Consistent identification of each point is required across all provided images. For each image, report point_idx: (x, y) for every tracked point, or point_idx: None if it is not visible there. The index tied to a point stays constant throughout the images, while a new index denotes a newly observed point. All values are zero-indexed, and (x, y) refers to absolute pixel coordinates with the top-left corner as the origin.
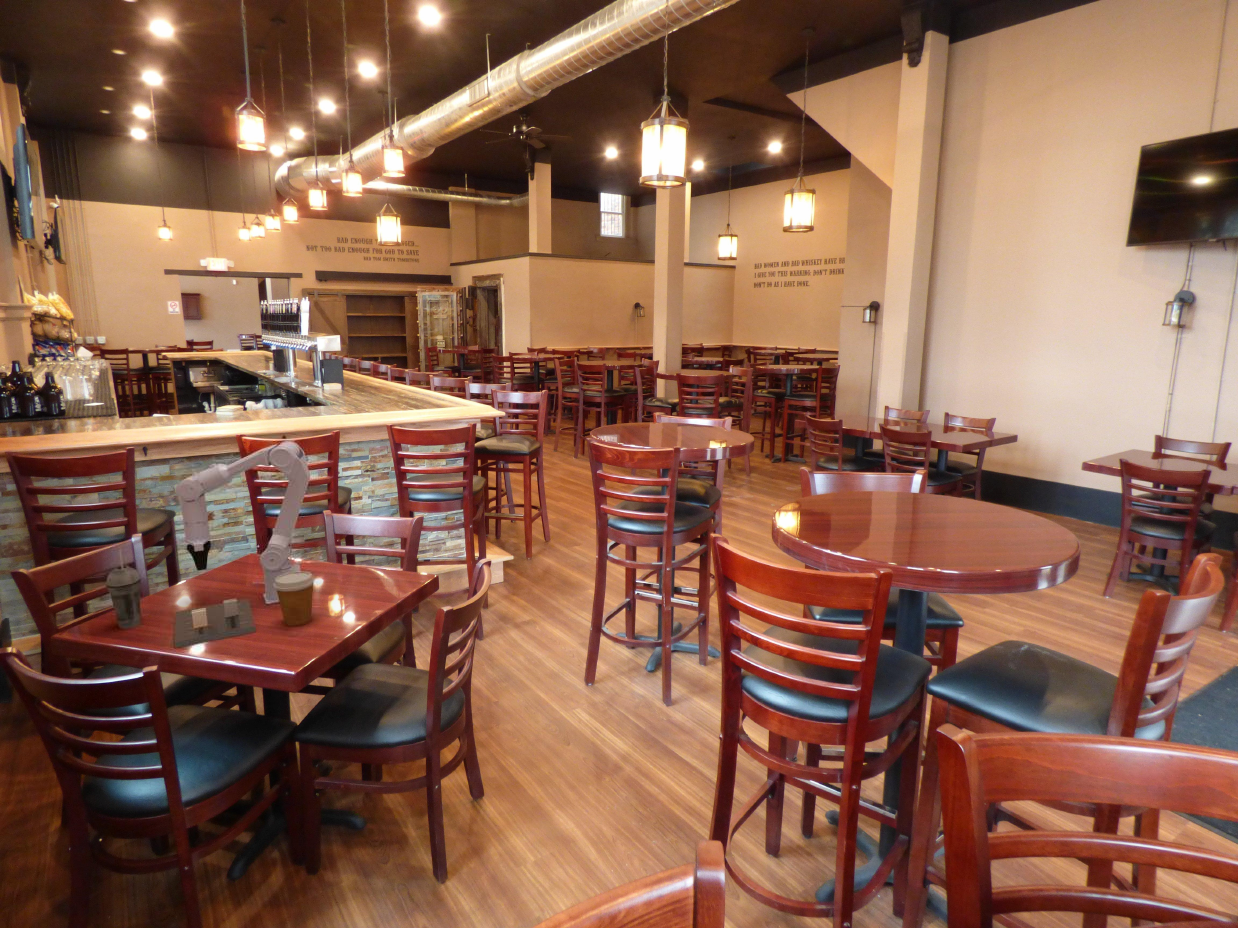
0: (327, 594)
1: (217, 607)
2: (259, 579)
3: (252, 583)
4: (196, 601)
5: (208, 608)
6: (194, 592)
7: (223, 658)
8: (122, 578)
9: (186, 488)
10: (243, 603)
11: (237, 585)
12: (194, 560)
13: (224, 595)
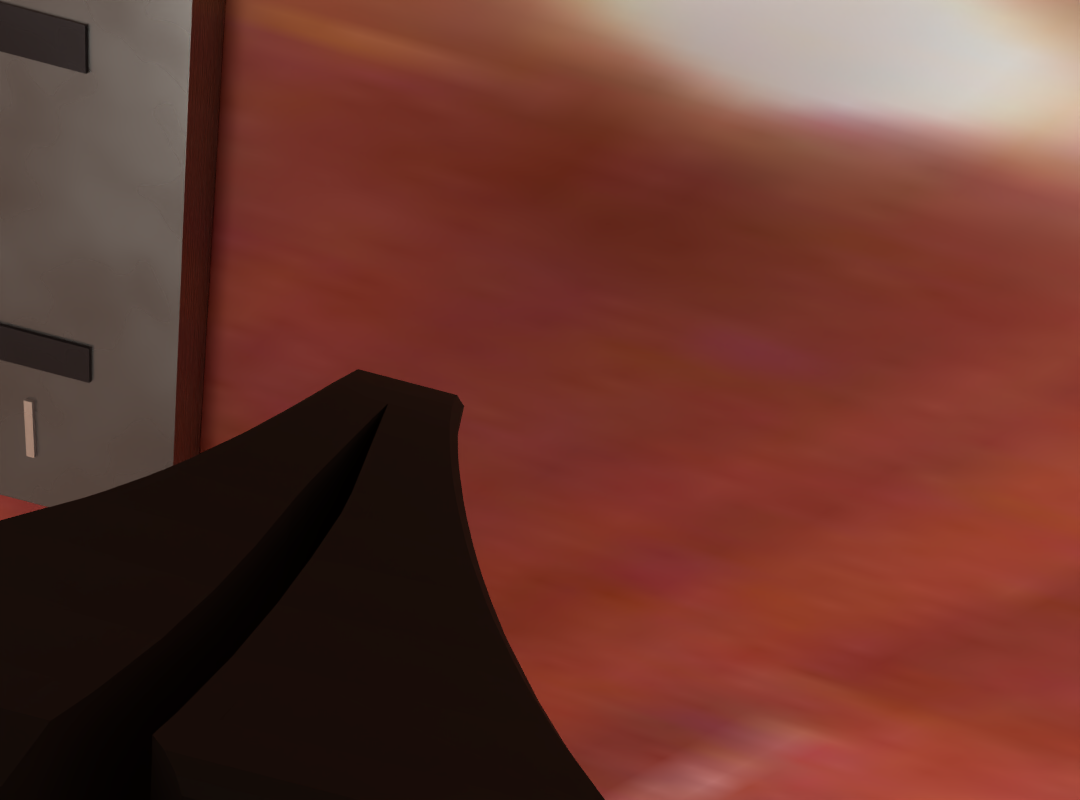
0: None
1: (67, 237)
2: (841, 786)
3: (780, 715)
4: (685, 146)
5: (91, 149)
6: (1075, 228)
7: None
8: None
9: None
10: (48, 463)
11: (852, 618)
12: (180, 469)
13: (635, 435)
